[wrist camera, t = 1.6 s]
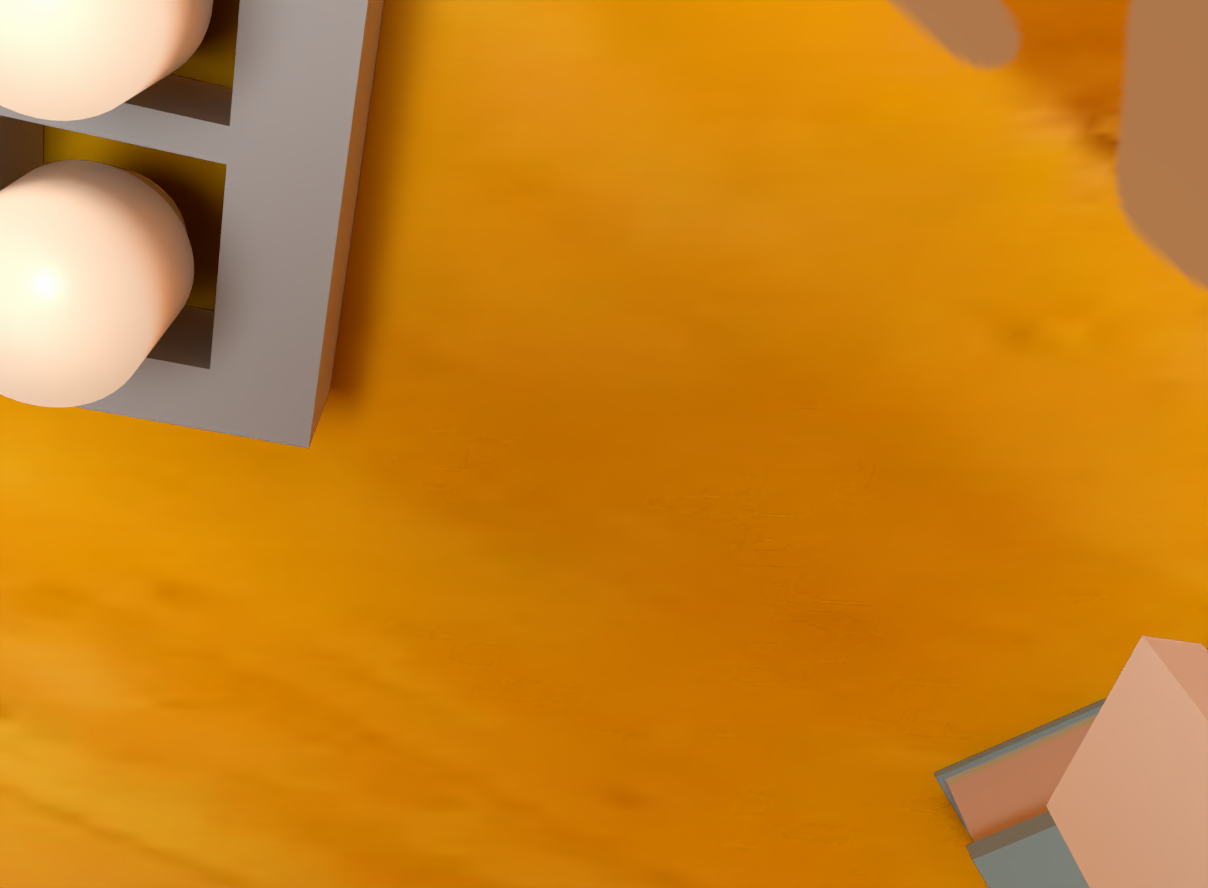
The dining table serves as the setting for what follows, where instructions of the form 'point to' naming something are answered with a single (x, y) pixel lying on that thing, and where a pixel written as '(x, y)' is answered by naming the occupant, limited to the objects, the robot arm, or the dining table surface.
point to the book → (1019, 804)
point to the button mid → (92, 52)
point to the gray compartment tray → (252, 216)
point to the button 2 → (85, 280)
